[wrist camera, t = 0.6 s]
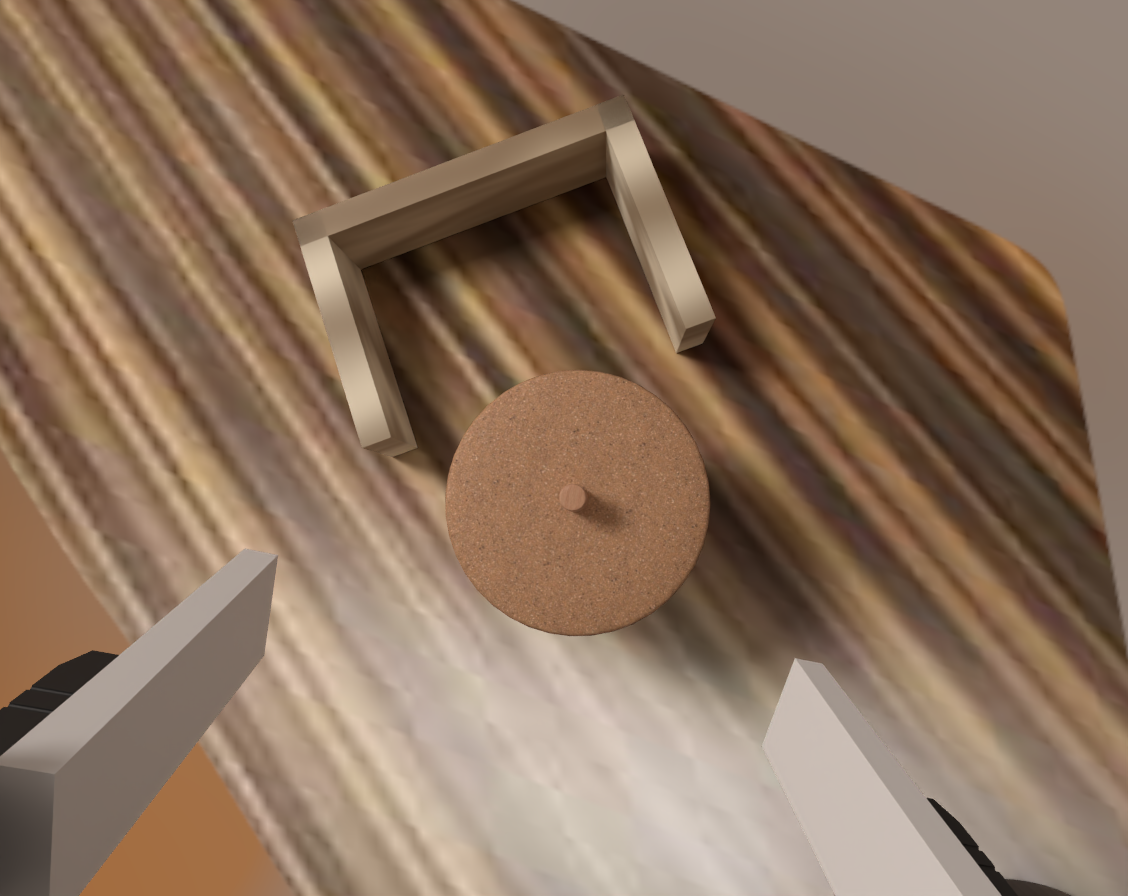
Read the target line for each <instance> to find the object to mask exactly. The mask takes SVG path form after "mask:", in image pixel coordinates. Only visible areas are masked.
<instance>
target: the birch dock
mask: <svg viewBox="0 0 1128 896" xmlns="http://www.w3.org/2000/svg"><path fill="white" fill-rule="evenodd" d="M605 177H606V178H607V180H608V183H609V185H610V188H611V190H612V193H613V195H614V198H615V200H616V203H617V205H618V208H619V210H620V213H621V215H622V218H623V220H624V223H625V225H626V228H627V230H628V233H629V235H630V238H631V240H632V243H633V245H634V248H635V250H636V253H637V255H638V258H639V260H640V263H641V265H642V268H643V271H644V273H645V276H646V278H647V281H648V283H649V286H650V288H651V291H652V293H653V296H654V298H655V301H656V303H657V306H658V308H659V311H660V313H661V316H662V318H663V321H664V323H665V326H666V328H667V331H668V333H669V336H670V338H671V341H672V343H673V346H674V348H675V351H676V353H678V352H681V351H683V350H686V349H689V348H692V347H694V346H697V345H700V344H702V343H703V342H704V340H705V338H706V336H707V334H708V332H709V330H710V328H711V326H712V325H713V323H714V321H715V319H716V317H715V315H714V312H713V310H712V307H711V305H710V302H709V300H708V298H707V295H706V293H705V290H704V288H703V285H702V283H701V281H700V278H699V276H698V273H697V271H696V269H695V266H694V264H693V261H692V259H691V256H690V254H689V252H688V249H687V247H686V244H685V242H684V239H683V237H682V235H681V232H680V230H679V227H678V225H677V223H676V220H675V218H674V215H673V213H672V210H671V208H670V206H669V203H668V201H667V198H666V196H665V193H664V191H663V189H662V186H661V184H660V181H659V179H658V176H657V174H656V172H655V169H654V167H653V164H652V162H651V160H650V157H649V155H648V152H647V150H646V147H645V145H644V143H643V140H642V138H641V135H640V133H639V130H638V128H637V126H636V123H635V121H634V118H633V116H632V113H631V111H630V109H629V106H628V104H627V101H626V99H625V97H624V95H621V96H619V97H616V98H614V99H611V100H608V101H606V102H603V103H600V104H598V105H595V106H592V107H590V108H587V109H585V110H582V111H579V112H577V113H574V114H571V115H569V116H566V117H564V118H561V119H558V120H556V121H553V122H550V123H548V124H545V125H543V126H540V127H537V128H535V129H532V130H529V131H527V132H524V133H521V134H519V135H516V136H514V137H511V138H508V139H506V140H503V141H500V142H498V143H495V144H493V145H490V146H487V147H485V148H482V149H479V150H477V151H474V152H472V153H469V154H466V155H464V156H461V157H458V158H456V159H453V160H450V161H448V162H445V163H443V164H440V165H437V166H435V167H432V168H429V169H427V170H424V171H422V172H419V173H416V174H414V175H411V176H408V177H406V178H403V179H400V180H398V181H395V182H393V183H390V184H387V185H385V186H382V187H379V188H377V189H374V190H372V191H369V192H366V193H364V194H361V195H358V196H356V197H353V198H351V199H348V200H345V201H343V202H340V203H337V204H335V205H332V206H329V207H327V208H324V209H322V210H319V211H316V212H314V213H311V214H308V215H306V216H303V217H301V218H298V219H295V220H293V224H294V227H295V230H296V234H297V237H298V240H299V244H300V247H301V250H302V253H303V257H304V260H305V263H306V266H307V270H308V273H309V276H310V279H311V283H312V286H313V289H314V293H315V296H316V299H317V302H318V306H319V309H320V312H321V315H322V319H323V322H324V325H325V329H326V332H327V335H328V338H329V342H330V345H331V348H332V351H333V355H334V358H335V361H336V364H337V368H338V371H339V374H340V378H341V381H342V384H343V387H344V391H345V394H346V397H347V400H348V404H349V407H350V410H351V413H352V417H353V420H354V423H355V427H356V430H357V433H358V436H359V440H360V443H361V446H362V448H364V449H367V450H370V451H374V452H377V453H380V454H384V455H387V456H390V457H394V456H397V455H399V454H402V453H405V452H408V451H410V450H413V449H416V448H418V447H417V444H416V441H415V438H414V435H413V432H412V428H411V425H410V422H409V419H408V416H407V413H406V410H405V407H404V403H403V400H402V397H401V394H400V391H399V388H398V385H397V382H396V379H395V375H394V372H393V369H392V366H391V363H390V360H389V357H388V354H387V350H386V347H385V344H384V341H383V338H382V335H381V332H380V329H379V325H378V322H377V319H376V316H375V313H374V310H373V307H372V304H371V301H370V297H369V294H368V291H367V288H366V285H365V282H364V279H363V276H362V272H361V269H363V268H366V267H369V266H371V265H374V264H377V263H379V262H382V261H385V260H387V259H390V258H393V257H395V256H398V255H401V254H403V253H406V252H408V251H411V250H414V249H416V248H419V247H422V246H424V245H427V244H430V243H432V242H435V241H438V240H440V239H443V238H446V237H448V236H451V235H454V234H456V233H459V232H462V231H464V230H467V229H470V228H472V227H475V226H478V225H480V224H483V223H486V222H488V221H491V220H494V219H496V218H499V217H501V216H504V215H507V214H509V213H512V212H515V211H517V210H520V209H523V208H525V207H528V206H531V205H533V204H536V203H539V202H541V201H544V200H547V199H549V198H552V197H555V196H557V195H560V194H563V193H565V192H568V191H571V190H573V189H576V188H579V187H581V186H584V185H586V184H589V183H592V182H594V181H597V180H600V179H602V178H605Z"/></svg>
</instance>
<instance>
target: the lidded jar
mask: <svg viewBox="0 0 1128 896" xmlns="http://www.w3.org/2000/svg"><path fill="white" fill-rule="evenodd" d="M709 513H710V493H709V482H708V478H707V473H706V469H705V465H704V461H703V459H702V456H701V454H700V452H699V449H698V447H697V444H696V442H695V441H694V439H693V437H692V436H691V434H690V432H689V431H688V429H687V427H686V426H685V424H684V423H683V422H682V421H681V420H680V418H679V417H678V416H677V415H676V414H675V412H674V411H673V410H672V409H671V408H670V407H669V406H667V405H666V404H665V403H664V402H663V401H662V400H661V399H659V398H658V397H657V396H656V395H654V394H653V393H651V392H649V391H648V390H646V389H645V388H643V387H641V386H640V385H638V384H635V383H633V382H631V381H628V380H626V379H624V378H621V377H618V376H615V375H611V374H607V373H603V372H596V371H586V370H571V371H558V372H554V373H549V374H544V375H540V376H537V377H535V378H532V379H529V380H527V381H524V382H522V383H520V384H518V385H516V386H515V387H513V388H511V389H509V390H507V391H506V392H504V393H503V394H501V395H500V396H499V397H498V398H496V399H495V400H494V401H493V402H491V403H490V404H489V405H488V406H487V407H486V408H485V409H484V410H483V411H482V412H481V413H480V414H479V415H478V416H477V418H476V419H475V420H474V421H473V423H472V424H471V425H470V427H469V428H468V430H467V431H466V433H465V434H464V436H463V438H462V440H461V442H460V444H459V446H458V448H457V450H456V452H455V454H454V457H453V461H452V464H451V467H450V471H449V474H448V480H447V487H446V519H447V525H448V531H449V536H450V539H451V542H452V545H453V548H454V551H455V554H456V557H457V558H458V560H459V562H460V564H461V566H462V568H463V570H464V572H465V574H466V575H467V577H468V578H469V579H470V581H471V582H472V583H473V585H474V586H475V587H476V589H477V590H478V591H479V592H480V593H481V594H482V595H483V596H484V597H485V598H486V599H487V600H488V601H489V602H490V603H491V604H492V605H493V606H495V607H496V608H497V609H499V610H500V611H502V612H503V613H504V614H506V615H507V616H509V617H510V618H512V619H514V620H516V621H518V622H520V623H522V624H524V625H526V626H528V627H531V628H534V629H537V630H541V631H544V632H547V633H552V634H559V635H567V636H591V635H597V634H602V633H607V632H613V631H616V630H618V629H621V628H624V627H626V626H629V625H632V624H634V623H636V622H638V621H639V620H641V619H643V618H645V617H646V616H648V615H650V614H652V613H653V612H654V611H656V610H657V609H658V608H659V607H661V606H662V605H663V604H664V603H666V602H667V601H668V600H669V599H670V598H671V597H672V596H673V595H674V593H675V592H676V591H677V590H678V589H679V588H680V587H681V586H682V585H683V583H684V582H685V580H686V579H687V577H688V575H689V574H690V572H691V571H692V569H693V568H694V566H695V564H696V562H697V559H698V557H699V555H700V552H701V550H702V548H703V545H704V541H705V537H706V533H707V529H708V524H709Z"/></svg>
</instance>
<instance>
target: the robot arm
mask: <svg viewBox="0 0 1128 896" xmlns="http://www.w3.org/2000/svg"><path fill="white" fill-rule="evenodd" d="M277 558H278V555H275V554H270V553H265V552H260V551H255V550H250V549H244V550H243V551H241V552H240V553H239V554H238V555H237V556H235V557H234V558H233V559H232V560H231V561H230V562H228V563H227V564H226V565H225V566H224V567H223V568H221V569H220V570H219V571H218V572H217V573H215V574H214V575H213V576H212V577H211V578H210V579H208V580H207V581H206V582H205V583H204V584H203V585H201V586H200V587H199V588H198V589H197V590H195V591H194V592H193V593H192V594H191V595H190V596H188V597H187V598H186V599H185V600H184V601H183V602H181V603H180V604H179V605H178V606H177V607H175V608H174V609H173V610H172V611H171V612H170V613H168V614H167V615H166V616H165V617H164V618H163V619H161V620H160V621H159V622H158V623H157V624H155V625H154V626H153V627H152V628H151V629H150V630H148V631H147V632H146V633H145V634H144V635H143V636H141V637H140V638H139V639H138V640H137V641H135V642H134V643H133V644H132V645H131V646H130V647H128V649H126V650H125V651H124V652H123V653H121V654H120V655H115V654H110V653H104V652H98V651H90V652H88V653H86V654H83V655H81V656H79V657H77V658H74V659H72V660H70V661H67V662H65V663H63V664H61V665H58V666H57V667H56V668H54V669H53V670H52V671H50V672H49V673H48V674H47V675H45V676H44V677H43V678H41V679H40V680H39V681H37V682H36V683H35V684H33V685H32V687H31V689H30V690H26V691H24V692H23V693H22V694H20V695H19V696H18V697H16V698H15V699H14V700H13V701H11V702H10V704H9V706H8V707H3V708H2V709H1V710H0V896H79V895H80V893H81V892H82V891H83V889H84V888H85V887H86V885H87V884H88V883H89V882H90V880H91V879H92V878H93V877H94V875H95V874H96V873H97V871H98V870H99V869H100V867H101V866H102V865H103V863H104V862H105V861H106V860H107V858H108V857H109V856H110V854H111V853H112V852H113V850H114V849H115V848H116V847H117V845H118V844H119V843H120V841H121V840H122V839H123V838H124V836H125V835H126V834H127V832H128V831H129V830H130V829H131V827H132V826H133V825H134V823H135V822H136V821H137V820H138V818H139V817H140V815H141V814H142V813H143V812H144V810H145V809H146V808H147V806H148V805H149V804H150V803H151V801H152V800H153V799H154V797H155V796H156V795H157V794H158V792H159V791H160V790H161V788H162V787H163V786H164V784H165V783H166V782H167V781H168V779H169V778H170V777H171V775H172V774H173V773H174V772H175V770H176V769H177V768H178V766H179V765H180V764H181V762H182V761H183V760H184V759H185V757H186V756H187V755H188V753H189V752H190V751H191V750H192V748H193V747H194V746H195V744H196V743H197V742H198V740H199V739H200V738H201V737H202V735H203V734H204V733H205V731H206V730H207V729H208V727H209V726H210V725H211V724H212V722H213V721H214V720H215V718H216V717H217V716H218V715H219V713H220V712H221V711H222V709H223V708H224V707H225V705H226V704H227V703H228V702H229V700H230V699H231V698H232V696H233V695H234V694H235V692H236V691H237V690H238V689H239V687H240V686H241V685H242V683H243V682H244V681H245V680H246V678H247V677H248V676H249V674H250V673H251V672H252V670H253V669H254V668H255V667H256V665H257V664H258V663H259V661H260V660H261V659H262V658H263V656H264V653H265V645H266V638H267V631H268V624H269V616H270V609H271V602H272V595H273V587H274V580H275V573H276V566H277ZM762 748H763V750H764V752H765V755H766V757H767V759H768V761H769V763H770V765H771V767H772V769H773V771H774V773H775V775H776V777H777V779H778V781H779V783H780V785H781V787H782V789H783V791H784V793H785V795H786V797H787V799H788V801H789V803H790V805H791V807H792V809H793V811H794V813H795V815H796V817H797V819H798V821H799V824H800V826H801V828H802V830H803V832H804V834H805V836H806V838H807V840H808V842H809V844H810V846H811V848H812V850H813V852H814V854H815V856H816V858H817V860H818V862H819V864H820V866H821V868H822V870H823V872H824V874H825V876H826V878H827V880H828V882H829V884H830V886H831V888H832V890H833V892H834V895H835V896H1071V895H1069V894H1066V893H1064V892H1062V891H1059V890H1056V889H1053V888H1050V887H1047V886H1043V885H1040V884H1036V883H1031V882H1025V881H1018V880H1010V879H1004V878H1003V876H1002V875H1001V874H1000V873H999V872H996V871H995V866H994V865H993V864H992V863H991V861H990V860H989V859H988V858H987V856H986V855H985V854H984V853H983V851H979V849H978V847H979V846H978V845H977V844H976V843H975V841H974V840H973V839H972V838H971V836H970V835H969V834H968V833H967V831H966V830H965V829H964V827H963V826H962V825H961V824H960V822H959V821H957V820H956V819H955V818H954V817H953V816H952V815H951V814H950V813H948V812H947V811H946V810H945V809H944V808H943V807H942V806H940V805H939V804H938V803H937V802H936V801H935V800H934V799H930V798H926V797H925V796H924V794H923V793H922V792H921V791H920V789H919V788H918V787H917V785H916V784H915V783H914V781H913V780H912V779H911V778H910V776H909V775H908V774H907V772H906V771H905V770H904V769H903V767H902V766H901V765H900V763H899V762H898V761H897V759H896V758H895V757H894V756H893V754H892V753H891V752H890V750H889V749H888V748H887V746H886V745H885V744H884V743H883V741H882V740H881V739H880V737H879V736H878V735H877V734H876V732H875V731H874V730H873V728H872V727H871V726H870V724H869V723H868V722H867V721H866V719H865V718H864V717H863V715H862V714H861V713H860V711H859V710H858V709H857V708H856V706H855V705H854V704H853V702H852V701H851V700H850V699H849V697H848V696H847V695H846V693H845V692H844V691H843V689H842V688H841V687H840V686H839V684H838V683H837V682H836V680H835V679H834V678H833V676H832V675H831V674H830V673H829V671H828V670H827V669H826V667H825V666H824V665H823V664H822V663H817V662H812V661H807V660H802V659H797V658H795V659H794V662H793V665H792V667H791V670H790V673H789V675H788V678H787V680H786V683H785V686H784V688H783V691H782V694H781V696H780V699H779V702H778V704H777V707H776V709H775V712H774V715H773V717H772V720H771V723H770V725H769V728H768V731H767V733H766V736H765V738H764V741H763V744H762Z"/></svg>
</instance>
